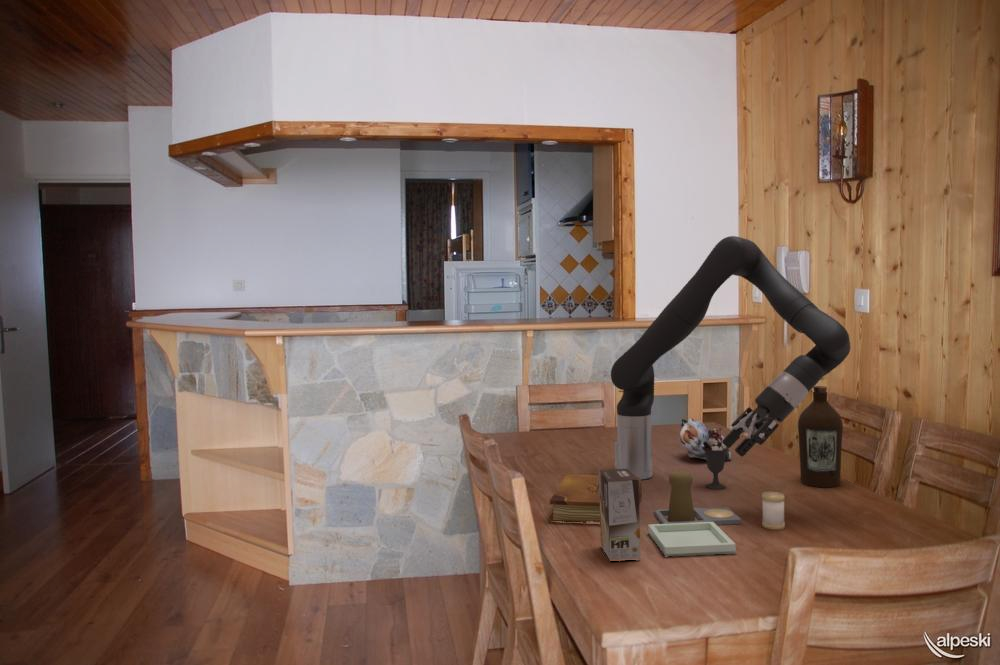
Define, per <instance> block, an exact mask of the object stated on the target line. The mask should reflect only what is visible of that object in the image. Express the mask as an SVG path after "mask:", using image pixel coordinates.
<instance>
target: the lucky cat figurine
mask: <svg viewBox="0 0 1000 665" xmlns="http://www.w3.org/2000/svg"><path fill="white" fill-rule="evenodd" d="M680 426H681V431H679V432H680V433H679V436H680V444H681V445H682V446H683V448H684V449H685V450H686V451H687V454H688V459H689V458H690V459H699V460H700V459H701V460H704V461H705V460H706V455H705V451H704V450H703V449H702V447H703V446H704V445H703V443H704V442H705V441H706V442H707V441H708V440H709V439H710V438H711V437H713V435H716V434H717V437H720V434H721V433H720V432H718V431H719V429H718V428H713V429H712V430H711V429H708V427H707V426H706V424H705V423H704V422H703V421H700V420H694V418H692V417H690V418H688V419H687V420H686V419H683V418H682V419H681V425H680ZM721 437H722V438H723V439H724V438H725V437H726V436H724V435H723V434H721ZM727 448H728V447H727ZM729 449H730V448H729ZM729 449H728V450H727V451H726V455H725V461H726V462H727V461H728V460H730V459H731V458H732V451H731V450H729Z"/></svg>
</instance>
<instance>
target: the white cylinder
mask: <svg viewBox="0 0 1000 665" xmlns="http://www.w3.org/2000/svg"><path fill="white" fill-rule="evenodd" d="M761 500H762V521H761V522H762V523H761V526H762V528H764V529H768V530H771V531H772V530H774V531H775V530H776V531H777V530H778V531H779V530H784V529H785V528H786V522H785V494H784V493H782V492H779V491H764V492H762V493H761Z"/></svg>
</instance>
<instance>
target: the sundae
mask: <svg viewBox="0 0 1000 665" xmlns="http://www.w3.org/2000/svg"><path fill="white" fill-rule="evenodd" d="M721 430H723V429H722V428H721V427H719V429H718V433H719V434H720V437H717V434H716V435H713V437H711V438H710V439H709V440H708V441H707V442H706V441H705V442H704V443H703V445H704V446H703V447H702V449H703V450H704V451H705V455H706V466H707V469H708V470H709V471H710V472H711V473H712V475H713V478H712V482H711V483H707V484H706V485H705V487H706V488H708V489H711V488H712V489H711V490H722V488H723V489H726V486H727V485H725V484H723V483H720V481H719V474H720V473H721V472H722V471H723V470H724V468H725V463H726V462H725V455H726V451H727V450H728V449H730V448H727V447H726V446H725V445H724V444H723V443H722V440H723V438H722V437H721V435H722V434H721V433H720V432H721Z"/></svg>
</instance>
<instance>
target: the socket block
mask: <svg viewBox="0 0 1000 665" xmlns="http://www.w3.org/2000/svg"><path fill="white" fill-rule="evenodd" d="M693 509H694V515H695V518H697V519H700V520H695V521H680V522H669V521H668V519H666V518H665V516H668V512H669V508H665V509H663V508H662V509H653V515H654V514H655V515H654V516H655V517H656V519H657V518H658V519H659V520H658V519H657V520H658V521H659V523H660V524H661V523H662V524H672V523H693V522H714V523H715V524H716V525H717V526H721V525H722V524H728V525H742V519H741V518H740V517H739V516H738V515H737V514H736V513H734V512H733V510H731V508H729V507H725V506H724V507H723V506H721V507H704V508H702V507H701V508H700V507H699V508H697V507H693ZM722 526H723V525H722Z"/></svg>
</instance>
